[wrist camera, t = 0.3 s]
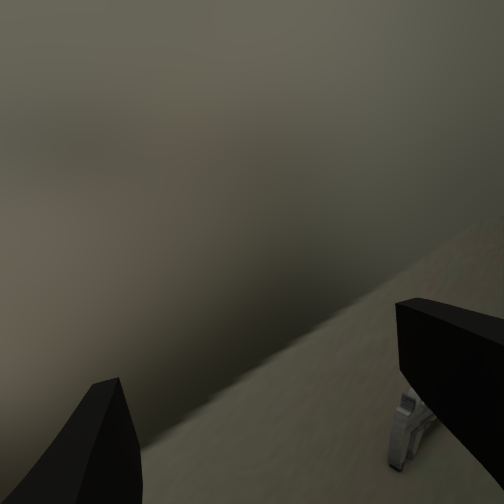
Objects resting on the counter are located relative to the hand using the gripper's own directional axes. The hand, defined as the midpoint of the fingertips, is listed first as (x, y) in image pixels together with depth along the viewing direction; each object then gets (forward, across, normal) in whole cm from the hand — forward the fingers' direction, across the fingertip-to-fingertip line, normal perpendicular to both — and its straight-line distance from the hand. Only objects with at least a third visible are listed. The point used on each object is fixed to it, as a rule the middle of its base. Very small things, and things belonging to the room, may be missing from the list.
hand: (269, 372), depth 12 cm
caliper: (+20, -19, +23) cm, 36 cm away
